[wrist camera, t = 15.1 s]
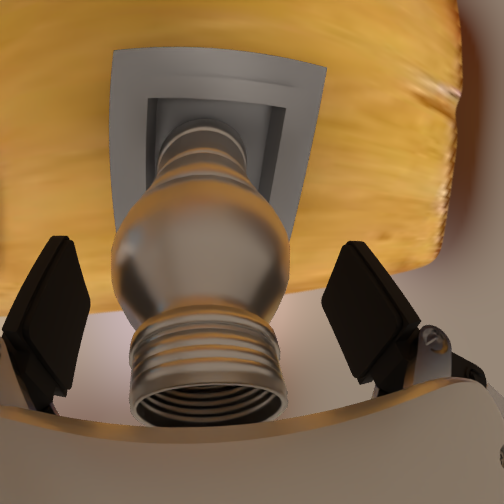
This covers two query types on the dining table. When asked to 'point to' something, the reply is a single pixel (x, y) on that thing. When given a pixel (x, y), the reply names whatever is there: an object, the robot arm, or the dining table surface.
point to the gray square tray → (213, 116)
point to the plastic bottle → (202, 287)
